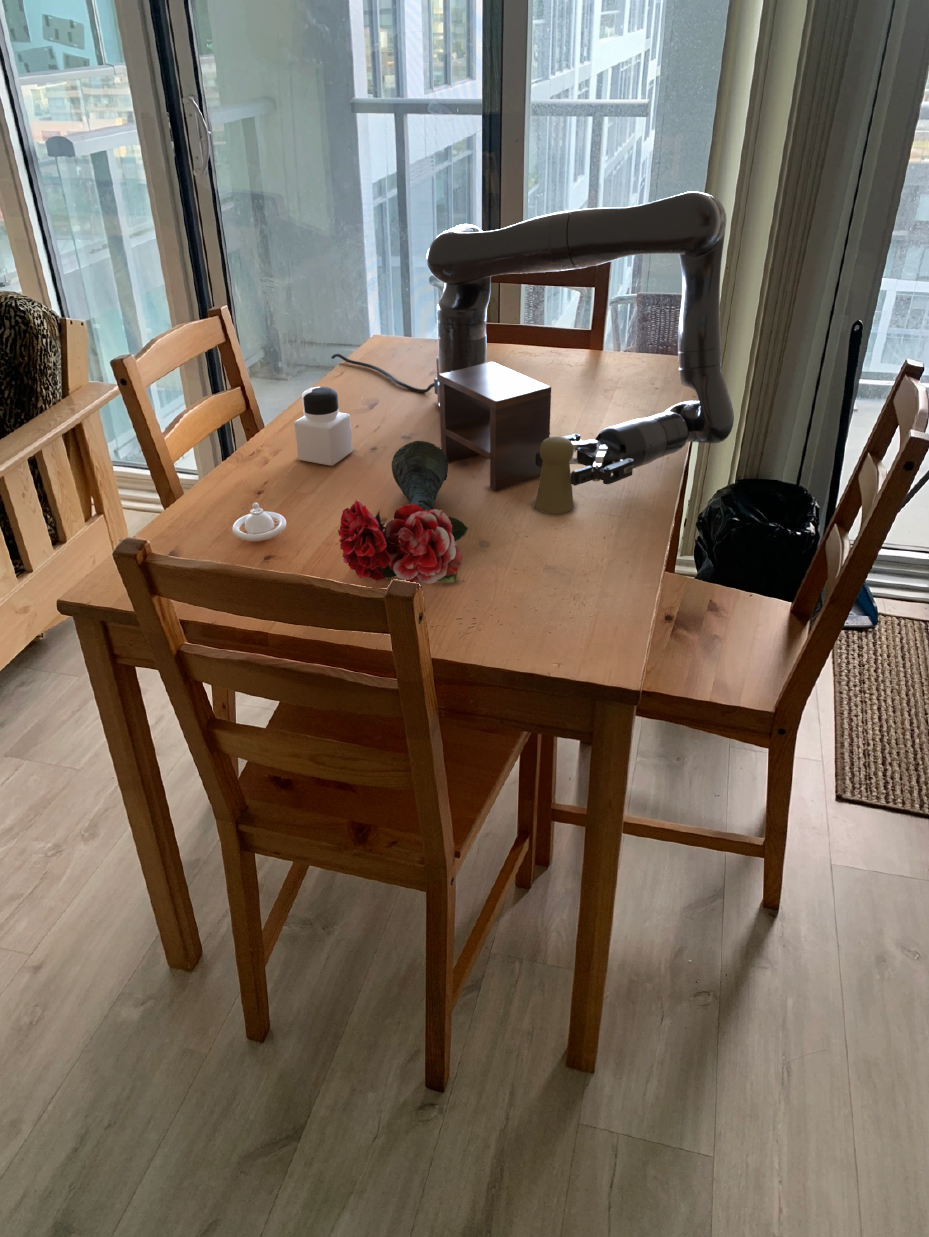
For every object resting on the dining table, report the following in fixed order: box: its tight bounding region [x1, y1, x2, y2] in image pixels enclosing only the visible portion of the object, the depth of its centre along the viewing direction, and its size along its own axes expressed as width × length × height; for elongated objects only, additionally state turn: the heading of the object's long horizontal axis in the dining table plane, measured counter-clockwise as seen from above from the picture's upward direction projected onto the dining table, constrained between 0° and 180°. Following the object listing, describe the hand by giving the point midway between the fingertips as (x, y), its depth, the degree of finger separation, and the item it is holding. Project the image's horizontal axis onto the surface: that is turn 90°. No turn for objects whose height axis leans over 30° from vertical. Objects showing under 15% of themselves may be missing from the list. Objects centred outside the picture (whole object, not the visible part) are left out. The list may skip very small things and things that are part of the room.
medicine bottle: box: [293, 386, 354, 467], centre depth 162 cm, size 7×7×12 cm
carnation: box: [337, 440, 469, 586], centre depth 135 cm, size 16×18×35 cm
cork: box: [534, 436, 575, 515], centre depth 145 cm, size 6×6×11 cm
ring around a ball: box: [232, 502, 287, 542], centre depth 139 cm, size 8×6×8 cm
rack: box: [439, 361, 552, 492], centre depth 156 cm, size 16×11×15 cm
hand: (554, 469), depth 144 cm, fingers open, 8 cm apart
